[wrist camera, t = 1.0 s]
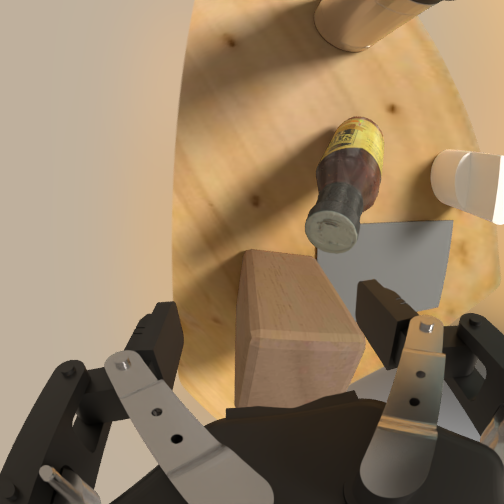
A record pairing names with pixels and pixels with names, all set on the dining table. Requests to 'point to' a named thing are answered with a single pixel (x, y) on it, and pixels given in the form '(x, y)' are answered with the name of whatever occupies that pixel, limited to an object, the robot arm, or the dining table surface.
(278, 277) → the block
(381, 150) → the sauce bottle
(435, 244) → the mat
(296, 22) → the dining table surface
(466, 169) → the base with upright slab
